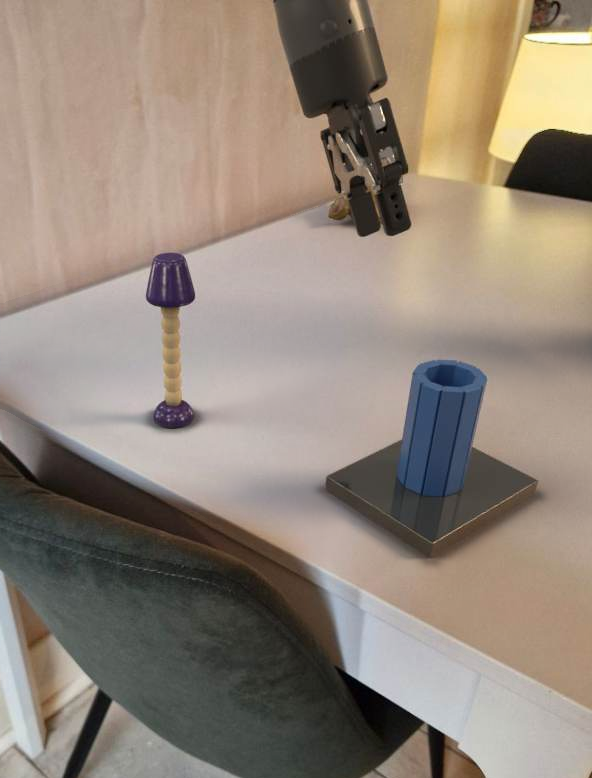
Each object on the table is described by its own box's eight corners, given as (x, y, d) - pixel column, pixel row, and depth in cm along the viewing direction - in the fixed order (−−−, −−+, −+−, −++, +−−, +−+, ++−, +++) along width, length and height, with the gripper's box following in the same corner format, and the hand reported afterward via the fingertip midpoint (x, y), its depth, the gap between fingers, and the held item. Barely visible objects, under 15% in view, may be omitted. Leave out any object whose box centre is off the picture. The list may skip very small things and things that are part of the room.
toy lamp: (157, 404, 81) (147, 247, 71) (200, 406, 81) (196, 248, 71) (150, 428, 78) (138, 265, 67) (196, 429, 77) (190, 266, 67)
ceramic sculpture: (409, 156, 131) (392, 184, 120) (403, 208, 136) (386, 238, 126) (347, 153, 134) (326, 179, 123) (344, 203, 139) (323, 233, 129)
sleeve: (395, 458, 70) (411, 357, 64) (460, 462, 69) (482, 361, 63) (397, 493, 65) (414, 389, 59) (467, 499, 64) (491, 394, 58)
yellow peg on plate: (428, 438, 75) (442, 358, 70) (534, 494, 67) (560, 408, 62) (324, 489, 68) (332, 405, 63) (429, 558, 61) (448, 468, 56)
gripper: (399, 2, 58) (452, 215, 63) (348, 46, 71) (396, 219, 77) (307, 41, 58) (368, 250, 64) (274, 78, 71) (327, 248, 77)
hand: (383, 233), depth 70 cm, fingers open, 8 cm apart
